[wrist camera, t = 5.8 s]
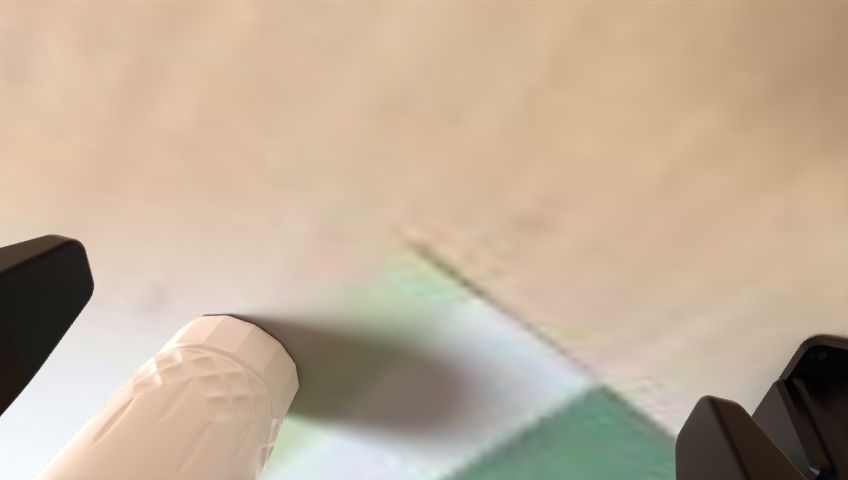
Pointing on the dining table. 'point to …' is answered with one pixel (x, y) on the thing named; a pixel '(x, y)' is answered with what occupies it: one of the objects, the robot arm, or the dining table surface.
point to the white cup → (189, 411)
